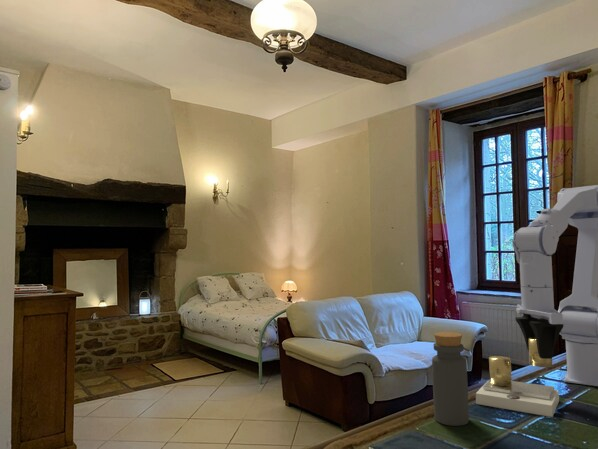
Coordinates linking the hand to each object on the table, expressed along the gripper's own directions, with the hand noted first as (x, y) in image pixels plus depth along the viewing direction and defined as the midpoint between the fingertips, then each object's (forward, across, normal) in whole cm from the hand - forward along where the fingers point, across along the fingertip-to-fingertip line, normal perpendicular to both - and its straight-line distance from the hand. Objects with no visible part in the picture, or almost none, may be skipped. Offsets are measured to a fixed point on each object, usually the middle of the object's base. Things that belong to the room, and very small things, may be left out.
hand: (540, 355), depth 89 cm
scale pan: (+7, 0, -5) cm, 8 cm away
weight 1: (+6, -2, -7) cm, 9 cm away
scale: (+9, +2, -5) cm, 10 cm away
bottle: (+9, +10, -21) cm, 25 cm away
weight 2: (+2, 0, 0) cm, 2 cm away
